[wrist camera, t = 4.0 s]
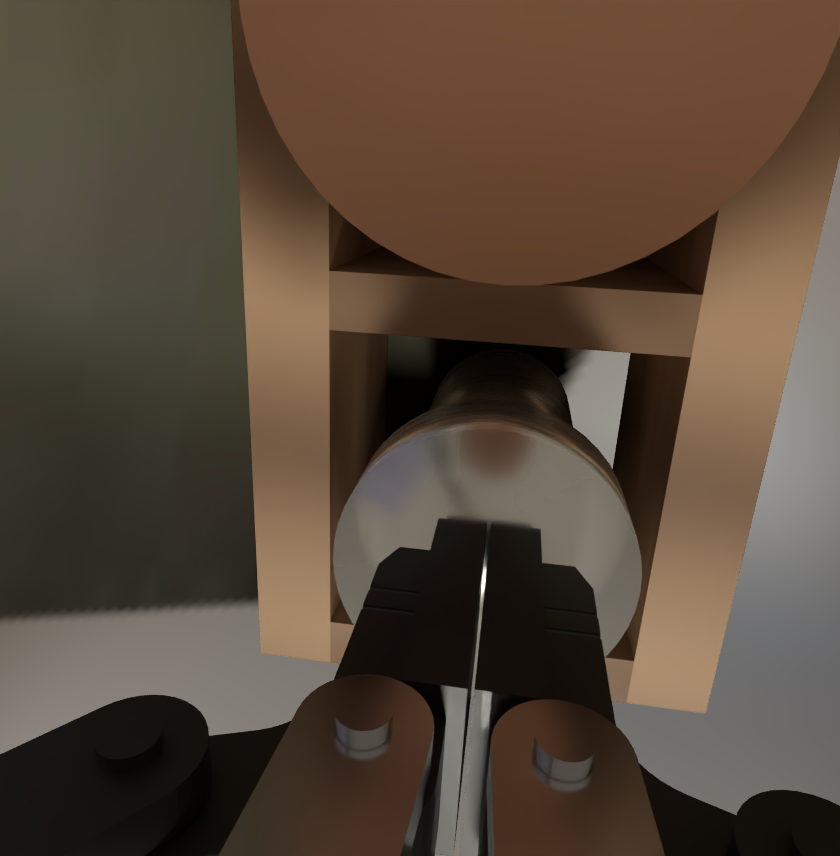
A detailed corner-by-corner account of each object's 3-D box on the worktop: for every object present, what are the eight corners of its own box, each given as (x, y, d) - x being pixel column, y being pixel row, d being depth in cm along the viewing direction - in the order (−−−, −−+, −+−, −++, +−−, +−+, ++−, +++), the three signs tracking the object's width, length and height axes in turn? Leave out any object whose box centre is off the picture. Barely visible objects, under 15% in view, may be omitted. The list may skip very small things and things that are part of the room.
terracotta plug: (403, -63, 11) (219, -429, 5) (686, -63, 11) (960, -476, 4) (394, 221, 13) (249, 268, 6) (641, 235, 12) (782, 303, 6)
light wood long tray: (327, -598, 12) (173, -1199, 7) (886, -652, 11) (1217, -1420, 6) (331, 528, 19) (261, 652, 14) (655, 564, 18) (705, 713, 13)
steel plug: (413, 317, 17) (332, 416, 10) (606, 331, 16) (667, 446, 9) (406, 489, 18) (333, 677, 11) (581, 506, 18) (617, 717, 11)
